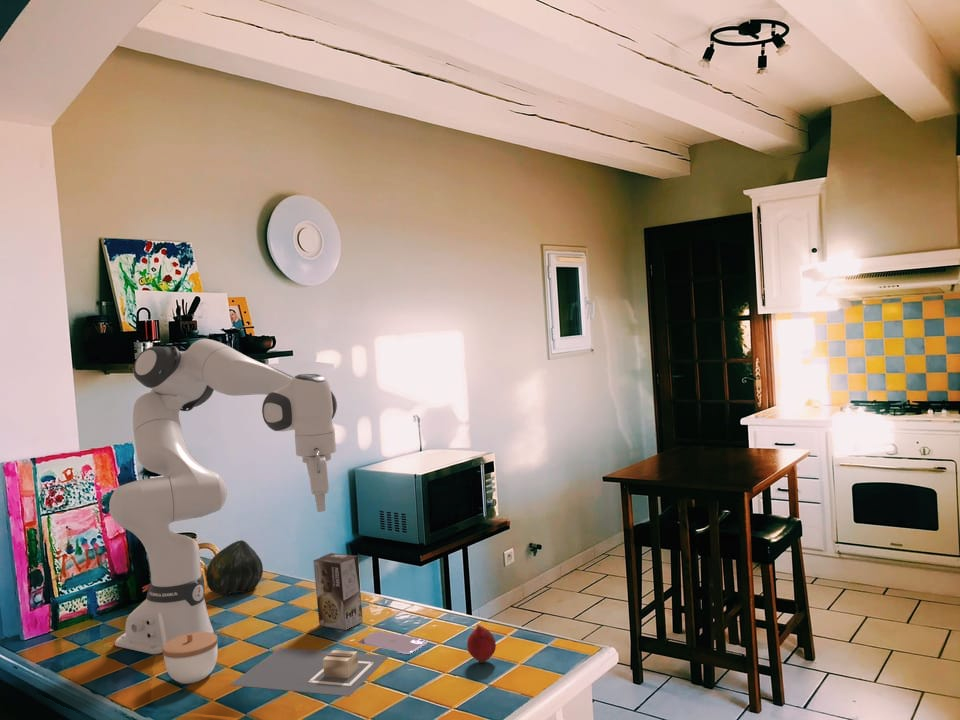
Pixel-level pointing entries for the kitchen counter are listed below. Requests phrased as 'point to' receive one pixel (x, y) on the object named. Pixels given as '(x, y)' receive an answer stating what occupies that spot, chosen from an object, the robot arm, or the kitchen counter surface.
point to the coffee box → (338, 591)
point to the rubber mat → (306, 672)
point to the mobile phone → (394, 642)
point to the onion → (481, 644)
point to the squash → (234, 569)
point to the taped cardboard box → (340, 663)
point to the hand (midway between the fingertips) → (320, 506)
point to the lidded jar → (191, 656)
